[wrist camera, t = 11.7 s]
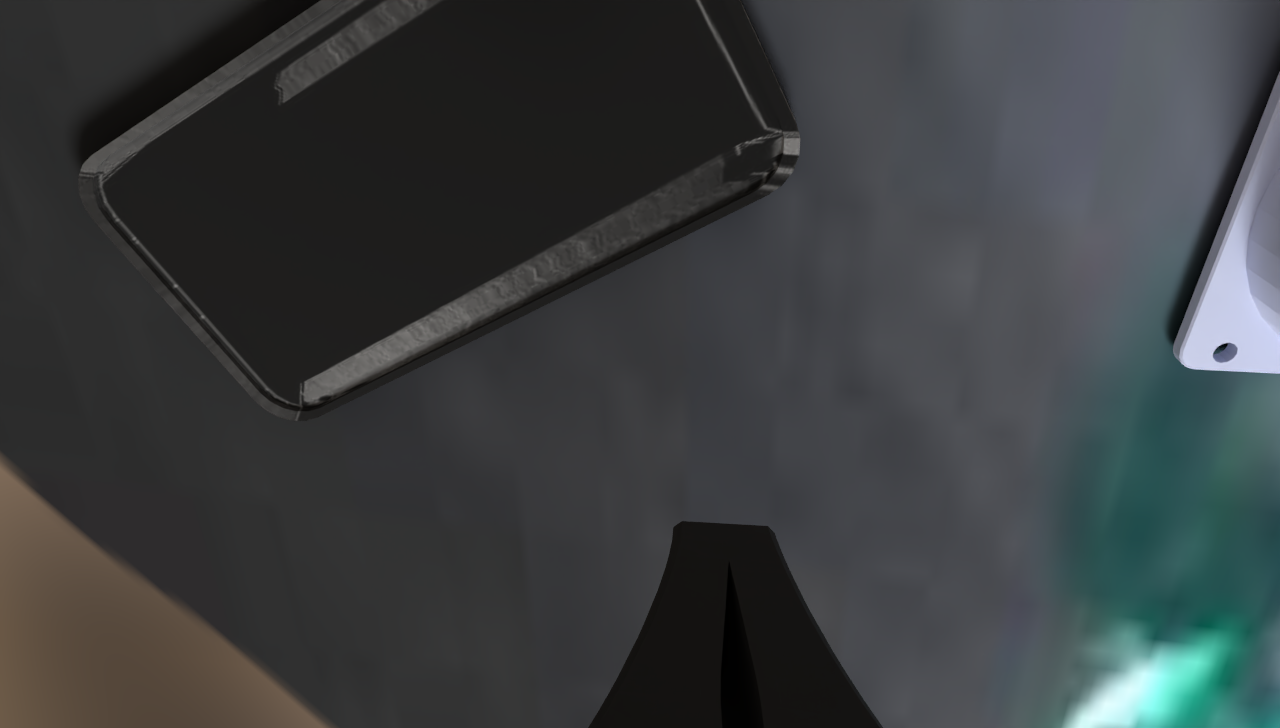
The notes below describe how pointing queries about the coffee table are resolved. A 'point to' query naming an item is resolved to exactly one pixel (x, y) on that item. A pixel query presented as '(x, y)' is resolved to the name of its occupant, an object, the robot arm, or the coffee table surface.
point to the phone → (433, 176)
